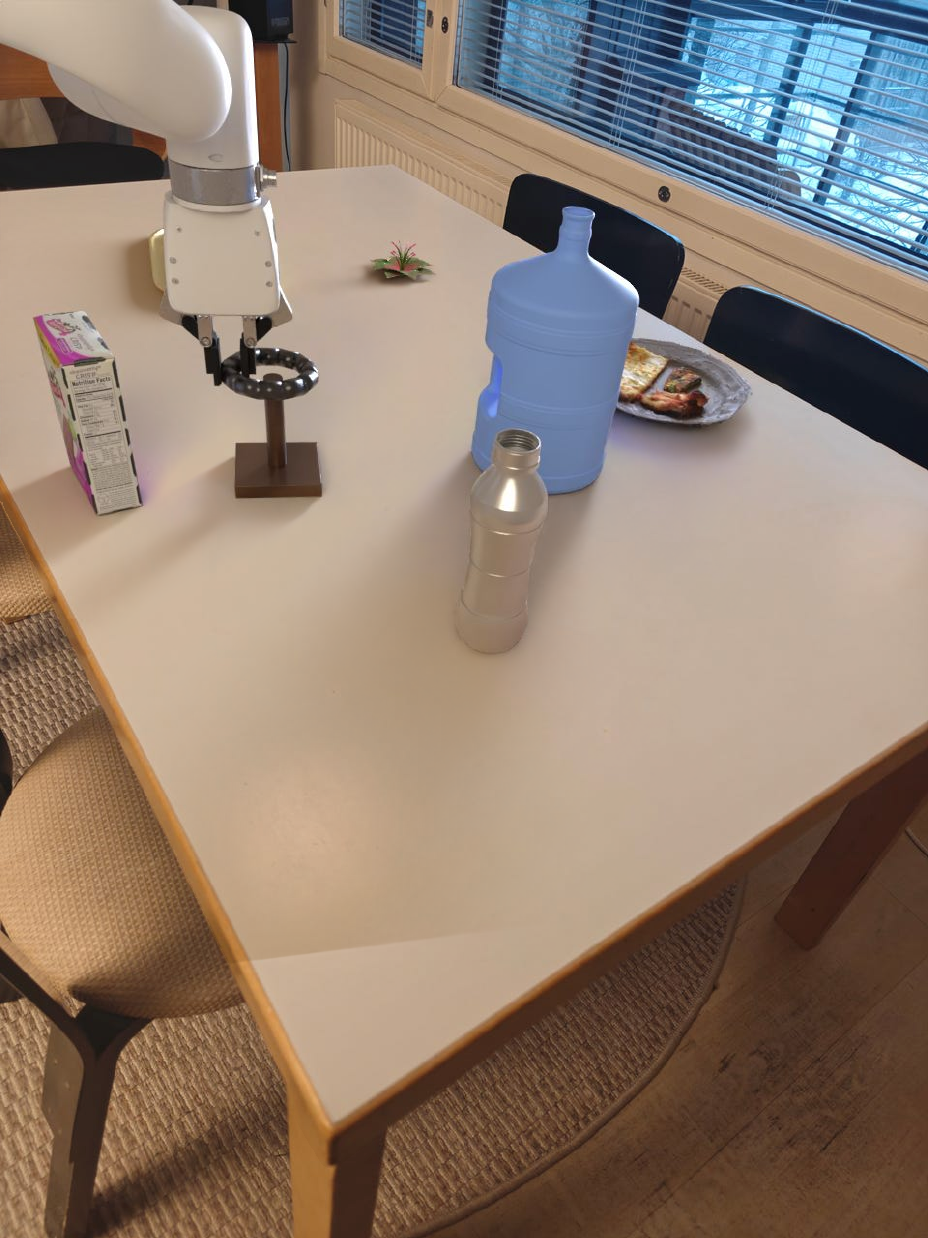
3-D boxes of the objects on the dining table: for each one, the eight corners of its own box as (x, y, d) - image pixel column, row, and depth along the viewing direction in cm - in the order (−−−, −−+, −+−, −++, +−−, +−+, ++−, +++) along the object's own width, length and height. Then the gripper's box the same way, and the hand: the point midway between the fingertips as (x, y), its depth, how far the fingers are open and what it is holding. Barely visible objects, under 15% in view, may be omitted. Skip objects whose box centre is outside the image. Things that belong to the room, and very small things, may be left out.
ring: (219, 402, 83) (218, 384, 81) (222, 359, 90) (221, 343, 89) (320, 404, 85) (321, 387, 84) (315, 362, 92) (315, 346, 91)
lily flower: (380, 286, 140) (381, 257, 137) (357, 260, 148) (357, 232, 145) (448, 282, 144) (450, 254, 141) (422, 257, 152) (423, 230, 149)
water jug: (622, 458, 105) (682, 214, 86) (563, 514, 94) (618, 250, 76) (511, 416, 110) (546, 179, 92) (444, 465, 99) (468, 207, 81)
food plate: (703, 455, 107) (711, 430, 105) (541, 395, 115) (545, 371, 113) (764, 388, 124) (772, 365, 121) (618, 340, 132) (623, 318, 130)
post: (235, 498, 90) (225, 397, 83) (236, 454, 97) (227, 357, 90) (321, 496, 92) (320, 398, 85) (317, 453, 99) (315, 358, 91)
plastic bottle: (444, 653, 75) (466, 453, 62) (462, 606, 81) (486, 412, 68) (515, 670, 75) (552, 471, 62) (529, 621, 80) (566, 428, 67)
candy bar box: (66, 464, 92) (30, 314, 81) (114, 455, 94) (85, 307, 84) (94, 519, 85) (58, 363, 75) (145, 507, 88) (117, 354, 77)
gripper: (307, 174, 79) (310, 364, 91) (123, 164, 76) (152, 362, 88) (311, 199, 73) (314, 398, 85) (113, 189, 70) (145, 397, 82)
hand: (232, 378), depth 86 cm, fingers closed on ring, 2 cm apart
